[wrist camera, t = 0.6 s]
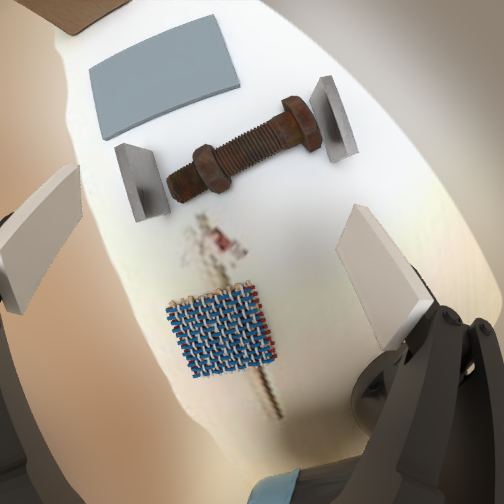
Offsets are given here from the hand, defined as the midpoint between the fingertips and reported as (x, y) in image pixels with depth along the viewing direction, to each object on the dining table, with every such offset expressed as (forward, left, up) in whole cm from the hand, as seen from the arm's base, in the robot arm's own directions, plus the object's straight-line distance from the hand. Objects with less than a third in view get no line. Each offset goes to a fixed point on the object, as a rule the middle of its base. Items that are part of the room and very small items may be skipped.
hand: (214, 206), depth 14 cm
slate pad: (+16, +5, -18) cm, 24 cm away
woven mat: (-14, +7, -18) cm, 24 cm away
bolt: (+4, -1, -18) cm, 19 cm away
